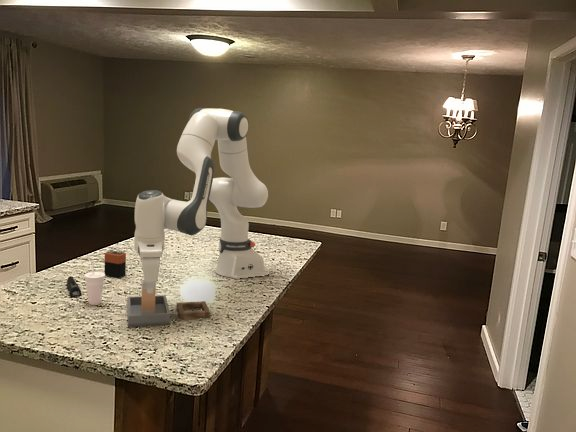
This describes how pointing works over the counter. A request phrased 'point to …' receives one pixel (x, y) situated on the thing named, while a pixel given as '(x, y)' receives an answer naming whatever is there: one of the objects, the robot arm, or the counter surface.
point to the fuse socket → (192, 314)
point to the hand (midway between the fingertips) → (149, 287)
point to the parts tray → (148, 319)
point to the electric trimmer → (73, 287)
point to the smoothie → (94, 286)
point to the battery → (115, 263)
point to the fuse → (147, 299)
